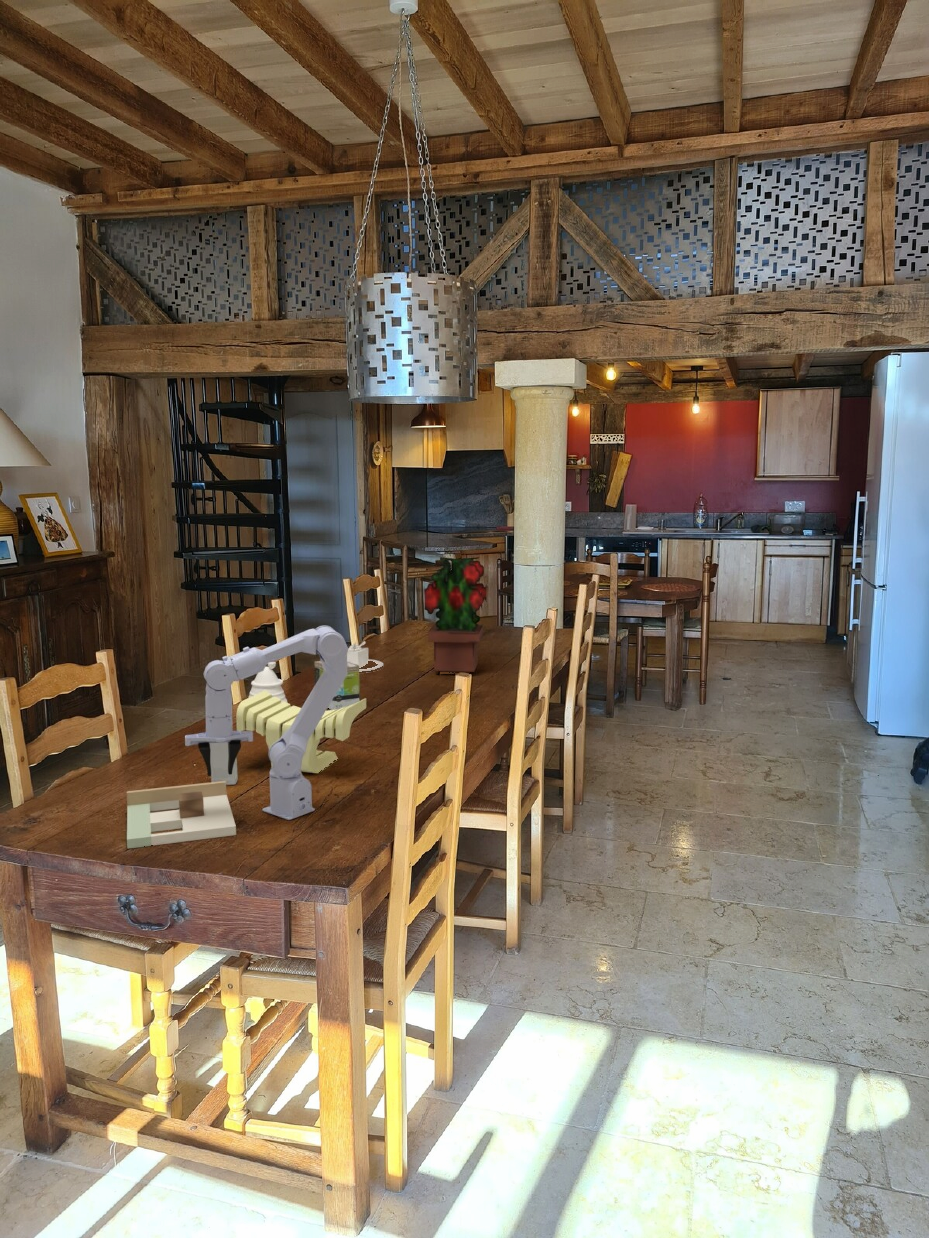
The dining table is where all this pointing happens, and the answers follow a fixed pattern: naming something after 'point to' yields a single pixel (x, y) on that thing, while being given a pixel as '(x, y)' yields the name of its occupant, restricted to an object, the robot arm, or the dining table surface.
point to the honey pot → (268, 683)
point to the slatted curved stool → (278, 718)
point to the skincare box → (221, 764)
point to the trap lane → (177, 815)
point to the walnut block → (191, 804)
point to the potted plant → (456, 613)
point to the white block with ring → (361, 657)
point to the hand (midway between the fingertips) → (219, 773)
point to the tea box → (343, 686)
